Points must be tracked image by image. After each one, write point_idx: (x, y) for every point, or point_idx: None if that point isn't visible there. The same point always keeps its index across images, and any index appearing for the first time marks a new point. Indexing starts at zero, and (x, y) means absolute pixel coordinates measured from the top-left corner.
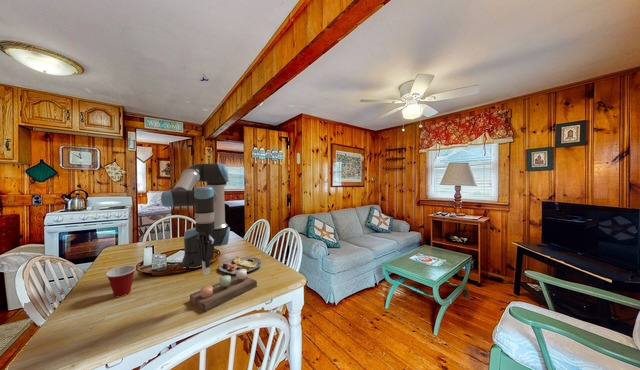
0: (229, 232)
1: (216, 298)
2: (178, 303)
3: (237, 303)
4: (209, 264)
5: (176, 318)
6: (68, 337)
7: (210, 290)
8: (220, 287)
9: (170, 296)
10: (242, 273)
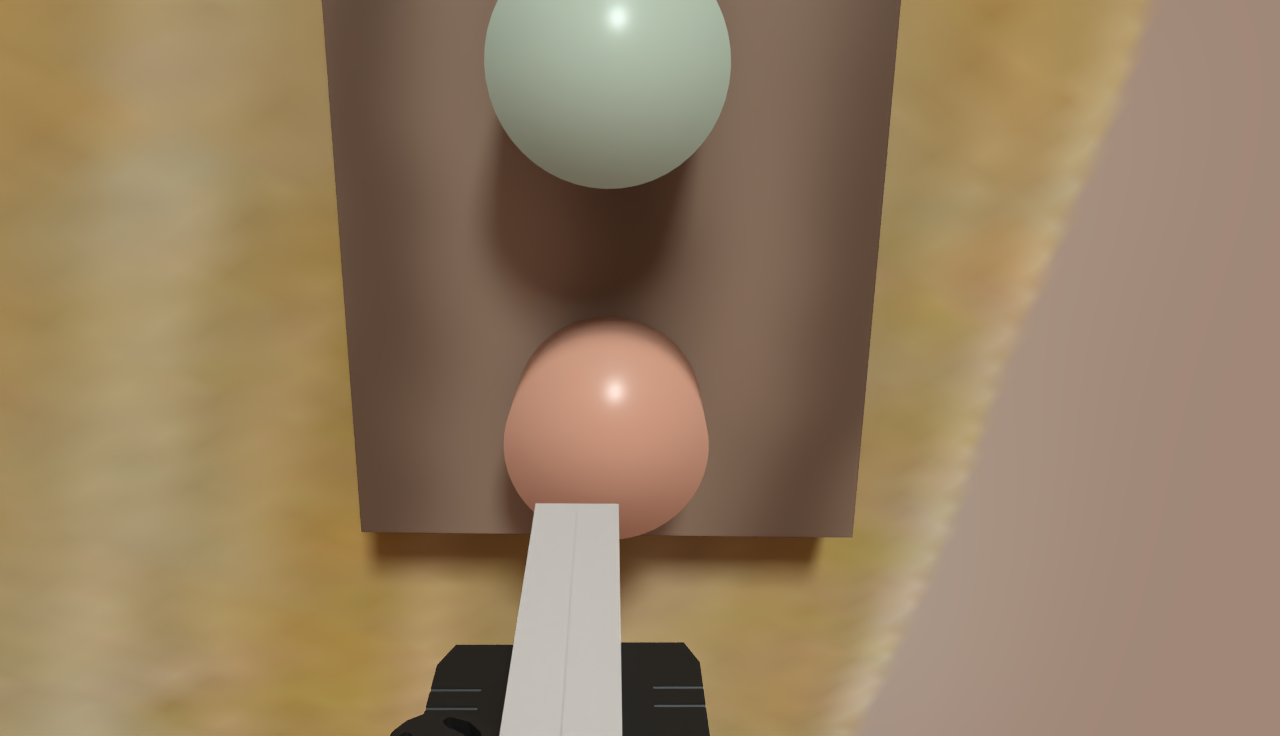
0: None
1: (827, 363)
2: (318, 592)
3: (1044, 126)
4: (702, 703)
5: None
6: None
7: (705, 425)
8: None
9: (21, 579)
10: None
